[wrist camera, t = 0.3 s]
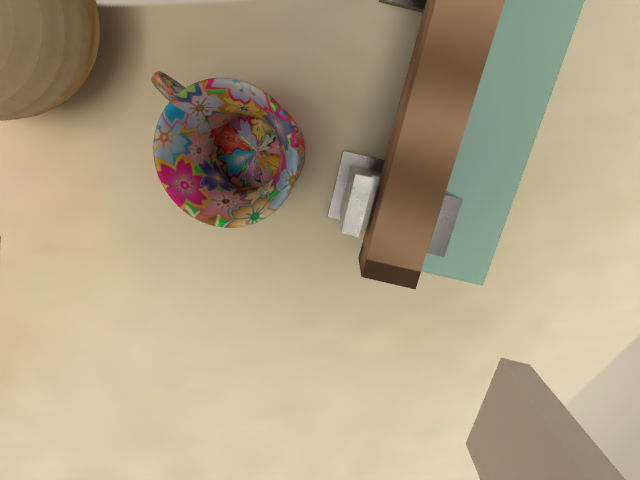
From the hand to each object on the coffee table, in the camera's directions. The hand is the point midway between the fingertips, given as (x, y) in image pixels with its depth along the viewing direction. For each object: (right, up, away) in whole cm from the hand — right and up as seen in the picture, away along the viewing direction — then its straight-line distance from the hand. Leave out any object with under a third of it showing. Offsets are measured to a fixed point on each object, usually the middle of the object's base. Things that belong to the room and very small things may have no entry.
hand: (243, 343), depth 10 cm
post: (+8, +7, +25) cm, 27 cm away
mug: (-4, +12, +25) cm, 28 cm away
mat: (+18, +13, +23) cm, 32 cm away
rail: (+9, +13, +15) cm, 22 cm away
